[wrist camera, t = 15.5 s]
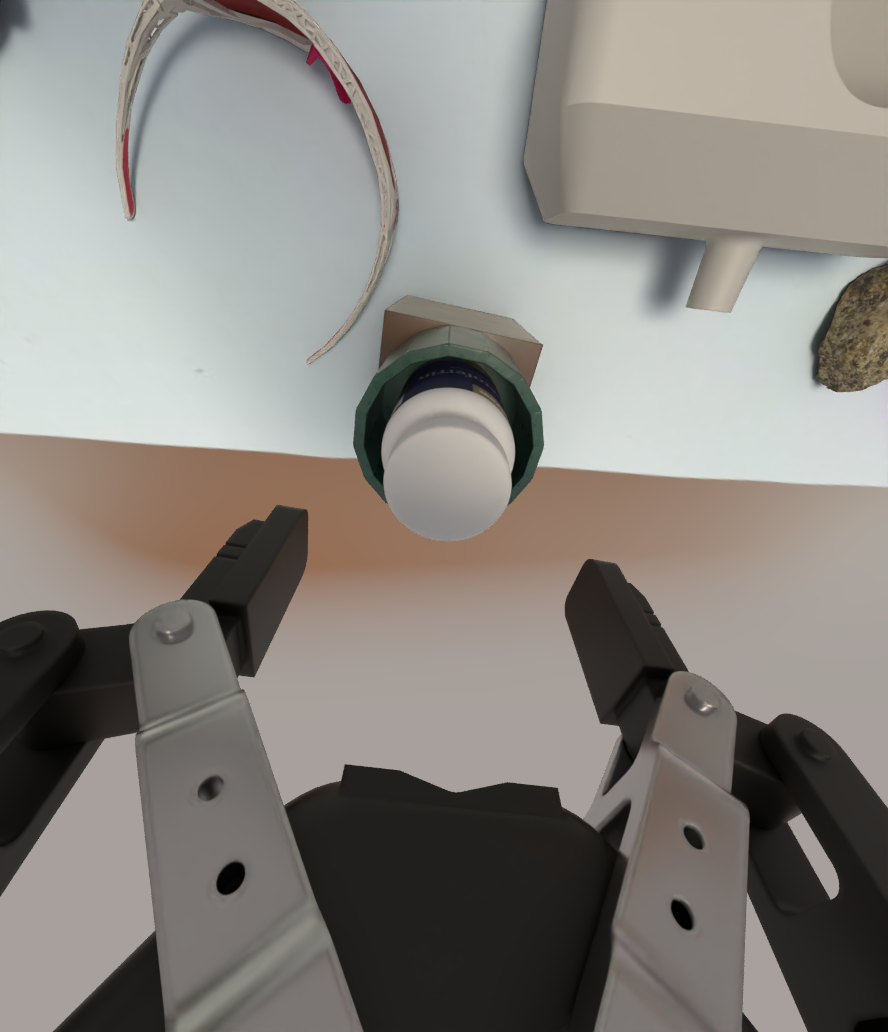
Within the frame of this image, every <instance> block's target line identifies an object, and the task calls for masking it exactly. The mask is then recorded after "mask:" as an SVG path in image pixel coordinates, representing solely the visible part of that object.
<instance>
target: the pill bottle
mask: <svg viewBox="0 0 888 1032" xmlns="http://www.w3.org/2000/svg"><path fill="white" fill-rule="evenodd" d="M381 455H382V463H383V467H384V471H385V472H384V479H383V484H384V492H385V496H386V500H387V502H388V505H389V507H390V509H391V511H392V512H393V514H394V515H395V517H396V518H397V519H398V520H399V521H400V522H401V523H402V524H403V525H404V526H406V527H407V528H409V529H410V530H411V531H413V532H415V533H416V534H418V535H421V536H423V537H426V538H429V539H434V540H440V541H456V540H462V539H467V538H471V537H473V536H475V535H478V534H480V533H482V532H483V531H485V530H487V529H488V528H489V527H491V526H492V525H493V524H494V523H495V522H496V521H497V520H498V519H499V518H500V516H501V515H502V514H503V512H504V510H505V508H506V507H507V505H508V502H509V499H510V495H511V488H512V480H511V472H512V469H513V465H514V460H515V443H514V437H513V433H512V430H511V427H510V424H509V421H508V418H507V415H506V412H505V409H504V407H503V404H502V401H501V398H500V395H499V392H498V390H497V388H496V385H495V383H494V382H493V380H492V379H491V377H490V376H489V375H488V374H487V373H486V372H485V370H483V369H482V368H481V367H480V366H478V365H477V364H475V363H473V362H471V361H468V360H463V359H459V358H454V357H443V358H438V359H434V360H431V361H429V362H427V363H425V364H423V365H422V366H421V367H419V368H418V369H417V370H416V371H415V372H414V373H413V374H412V375H411V376H410V378H409V379H408V380H407V382H406V384H405V385H404V387H403V390H402V392H401V394H400V397H399V399H398V401H397V404H396V406H395V408H394V410H393V413H392V415H391V417H390V419H389V421H388V423H387V426H386V429H385V432H384V435H383V440H382V448H381Z"/></svg>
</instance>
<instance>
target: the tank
mask: <svg viewBox="0 0 888 1032" xmlns="http://www.w3.org/2000/svg"><path fill="white" fill-rule="evenodd" d="M523 163H524V166H525V168H526V171H527V174H528V177H529V180H530V183H531V185H532V188H533V191H534V194H535V197H536V200H537V202H538V205H539V208H540V211H541V214H542V217H543V219H544V222H546V223H551V224H559V225H568V226H577V227H586V228H595V229H605V230H614V231H623V232H632V233H642V234H651V235H660V236H669V237H678V238H688V239H697V240H706V249H705V252H704V254H703V257H702V260H701V263H700V266H699V269H698V272H697V275H696V278H695V281H694V284H693V287H692V290H691V293H690V296H689V298H688V301H687V304H686V307H687V308H693V309H701V310H709V311H717V312H729V313H731V311H732V308H733V306H734V304H735V302H736V300H737V298H738V296H739V294H740V291H741V289H742V287H743V285H744V283H745V281H746V279H747V276H748V274H749V272H750V270H751V268H752V266H753V264H754V262H755V259H756V257H757V255H758V253H759V251H760V249H761V248H762V247H771V248H780V249H789V250H798V251H808V252H817V253H826V254H835V255H844V256H854V257H866V258H888V0H547V5H546V12H545V18H544V25H543V32H542V39H541V45H540V52H539V59H538V66H537V72H536V79H535V86H534V93H533V99H532V106H531V113H530V120H529V126H528V133H527V140H526V146H525V153H524V160H523Z"/></svg>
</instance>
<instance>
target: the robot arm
mask: <svg viewBox="0 0 888 1032" xmlns="http://www.w3.org/2000/svg"><path fill="white" fill-rule="evenodd" d="M307 555H308V512H307V510H306V509H300V508H294V507H288V506H282V505H277V506H276V507H275V508H274V510H273V511H272V513H271V514H270V515H269V516H268V518H267V519H266V521H259V520H252V521H250V522H249V523H247V524H245V525H243V526H242V527H240V528H238V529H236V531H235V532H234V533H233V534H232V536H231V537H230V538H229V540H228V541H227V542H226V545H224V546H223V547H222V548H221V549H220V550H219V552H218V553H217V556H216V557H214V558H213V559H212V560H211V562H210V563H209V564H208V565H207V567H206V568H205V569H204V570H203V572H202V573H201V574H200V575H199V576H198V578H197V579H196V580H195V582H194V583H193V584H192V585H191V586H190V588H189V589H188V590H187V591H186V593H185V594H184V595H183V596H182V598H181V599H180V600H176V601H172V602H168V603H165V604H162V605H159V606H157V607H155V608H153V609H151V610H149V611H148V612H146V613H145V614H144V615H142V616H141V617H140V618H139V619H138V620H137V621H136V622H135V623H133V624H127V625H118V626H109V627H99V628H89V629H80V630H79V628H78V625H77V623H76V621H75V619H74V618H73V617H72V616H70V615H68V614H66V613H63V612H59V611H36V612H30V613H26V614H21V615H18V616H15V617H12V618H9V619H7V620H4V621H2V622H0V896H1V894H2V893H3V892H4V890H5V889H6V887H7V886H8V884H9V883H10V881H11V880H12V878H13V876H14V875H15V873H16V872H17V870H18V869H19V867H20V866H21V864H22V863H23V861H24V860H25V858H26V857H27V855H28V854H29V852H30V851H31V849H32V848H33V846H34V844H35V843H36V842H37V840H38V839H39V837H40V836H41V834H42V832H43V831H44V830H45V828H46V826H47V825H48V824H49V822H50V821H51V819H52V817H53V816H54V814H55V813H56V811H57V810H58V808H59V807H60V805H61V804H62V802H63V801H64V799H65V798H66V796H67V795H68V793H69V792H70V790H71V789H72V787H73V786H74V784H75V783H76V781H77V780H78V778H79V777H80V775H81V774H82V772H83V770H84V769H85V768H86V766H87V765H88V763H89V762H90V760H91V758H92V757H93V755H94V754H95V752H96V751H97V749H98V748H99V746H100V745H101V743H102V742H103V740H104V739H105V738H110V737H115V736H121V735H126V734H131V733H136V732H138V733H137V734H136V737H135V747H136V758H137V767H138V776H139V785H140V794H141V802H142V803H141V804H142V812H143V822H144V831H145V840H146V849H147V858H148V867H149V876H150V885H151V895H152V904H153V913H154V922H155V931H154V932H153V933H152V934H151V935H150V936H149V937H148V938H147V939H146V940H145V941H144V942H143V943H142V944H141V945H140V946H139V947H138V948H137V949H136V950H135V951H134V952H133V953H132V954H131V955H130V956H129V957H128V958H127V959H126V960H125V961H124V962H123V963H122V964H121V965H120V966H119V967H118V968H117V969H116V970H115V971H114V972H113V973H112V974H111V975H110V976H109V977H108V978H107V979H106V980H105V981H104V982H103V983H102V984H101V985H100V986H99V987H98V988H97V989H96V990H95V991H94V992H93V993H92V994H91V995H90V996H89V997H88V998H86V999H85V1000H84V1001H83V1003H82V1004H81V1005H80V1006H78V1007H77V1008H76V1009H75V1010H74V1011H73V1012H72V1013H71V1014H70V1015H69V1016H68V1017H67V1018H66V1019H65V1020H64V1021H63V1022H62V1023H61V1024H60V1026H58V1027H57V1028H56V1029H55V1030H54V1031H53V1032H758V1031H757V1030H756V1029H755V1027H754V1026H753V1025H752V1024H751V1022H750V1021H749V1020H748V1018H747V1017H746V1016H745V1015H744V1013H743V1012H742V1005H743V980H744V953H745V928H746V901H747V893H748V895H749V897H750V900H751V902H752V904H753V906H754V909H755V911H756V913H757V916H758V918H759V920H760V923H761V925H762V927H763V930H764V932H765V934H766V936H767V939H768V941H769V943H770V945H771V948H772V950H773V953H774V955H775V957H776V959H777V962H778V964H779V966H780V969H781V971H782V973H783V975H784V978H785V980H786V982H787V985H788V987H789V989H790V991H791V994H792V996H793V998H794V1001H795V1003H796V1005H797V1008H798V1010H799V1012H800V1015H801V1017H802V1019H803V1022H804V1024H805V1026H806V1028H807V1031H808V1032H888V808H887V807H886V805H885V804H884V803H883V802H882V800H881V799H880V797H879V796H878V795H877V793H876V792H875V791H874V790H873V788H872V787H871V786H870V784H869V783H868V782H867V780H866V779H865V778H864V776H863V775H862V774H861V773H860V771H859V770H858V769H857V767H856V766H855V765H854V763H853V762H852V761H851V759H850V758H849V757H848V756H847V754H846V753H845V752H844V750H842V748H841V747H840V746H839V745H838V744H837V743H836V742H835V741H834V740H833V739H832V738H831V737H830V736H829V735H828V734H827V733H825V732H824V731H823V730H822V729H820V728H818V727H817V726H816V725H814V724H813V723H811V722H809V721H807V720H805V719H803V718H801V717H798V716H796V715H792V714H781V715H779V716H778V717H776V718H775V719H774V720H773V721H772V722H771V723H769V724H765V723H763V722H760V721H758V720H755V719H753V718H751V717H748V716H746V715H744V714H741V713H739V712H736V711H735V710H734V708H733V706H732V705H731V703H730V701H729V700H728V699H727V698H726V696H725V695H724V694H723V693H722V692H721V691H720V690H719V689H718V688H717V687H716V686H714V685H713V684H712V683H710V682H709V681H707V680H706V679H704V678H702V677H701V676H698V675H696V674H693V673H690V672H689V671H688V670H687V668H686V666H685V664H684V663H683V661H682V659H681V658H680V656H679V654H678V652H677V651H676V649H675V647H674V646H673V644H672V642H671V641H670V639H669V637H668V635H667V634H666V632H665V630H664V629H663V628H662V627H661V624H660V622H659V620H658V618H657V617H656V615H654V614H653V613H654V612H653V610H652V608H651V607H650V605H649V603H648V601H647V600H646V598H645V597H644V596H643V595H642V594H641V593H640V592H639V591H638V590H637V589H636V588H635V587H634V586H633V585H632V584H631V583H627V581H626V579H625V577H624V575H623V574H622V572H621V570H620V568H619V567H618V565H617V564H615V563H611V562H605V561H599V560H593V559H588V560H587V561H586V562H585V563H584V564H583V566H582V568H581V570H580V572H579V574H578V576H577V578H576V580H575V582H574V584H573V586H572V588H571V590H570V592H569V594H568V596H567V598H566V602H565V617H566V620H567V623H568V626H569V629H570V632H571V635H572V638H573V641H574V644H575V647H576V651H577V654H578V657H579V660H580V663H581V665H582V669H583V672H584V675H585V678H586V681H587V684H588V687H589V690H590V693H591V696H592V700H593V703H594V705H595V709H596V712H597V715H598V718H599V721H600V723H601V724H608V725H616V726H619V727H620V730H621V733H622V734H621V736H620V737H619V738H618V739H617V741H616V743H615V746H614V748H613V751H612V754H611V756H610V759H609V762H608V765H607V767H606V770H605V772H604V775H603V777H602V780H601V783H600V785H599V788H598V791H597V793H596V796H595V799H594V801H593V803H592V805H591V807H590V809H589V811H588V812H587V814H586V816H585V817H584V819H581V818H580V817H579V816H577V815H575V814H574V813H572V812H570V811H568V810H567V809H565V808H563V807H562V806H561V802H560V797H559V792H558V788H553V787H544V786H535V785H526V784H517V783H508V782H507V783H502V784H497V785H493V786H488V787H483V788H479V789H473V790H468V791H464V792H457V793H455V792H450V791H447V790H445V789H442V788H440V787H438V786H435V785H433V784H431V783H428V782H426V781H423V780H421V779H419V778H416V777H414V776H411V775H409V774H407V773H404V772H402V771H399V770H391V769H382V768H373V767H364V766H355V765H345V766H344V771H343V775H342V780H341V781H339V782H334V783H329V784H326V785H323V786H320V787H317V788H314V789H312V790H310V791H308V792H306V793H304V794H302V795H300V796H299V797H297V798H295V799H294V800H292V801H290V802H289V803H287V804H286V805H283V802H282V799H281V796H280V793H279V790H278V787H277V784H276V781H275V778H274V775H273V772H272V769H271V766H270V763H269V760H268V757H267V754H266V751H265V748H264V745H263V742H262V739H261V736H260V733H259V730H258V728H257V725H256V721H255V718H254V715H253V713H252V709H251V706H250V703H249V701H248V698H247V695H246V693H245V691H244V690H243V689H242V690H241V688H240V686H239V682H238V679H237V678H238V676H239V675H241V676H248V677H255V675H256V673H257V671H258V668H259V666H260V664H261V662H262V660H263V658H264V656H265V653H266V652H267V650H268V647H269V645H270V643H271V641H272V639H273V637H274V635H275V633H276V631H277V629H278V626H279V624H280V622H281V620H282V618H283V616H284V614H285V612H286V609H287V607H288V605H289V603H290V601H291V599H292V597H293V595H294V593H295V591H296V588H297V586H298V584H299V582H300V580H301V578H302V576H303V573H304V570H305V567H306V562H307ZM801 813H802V814H803V815H804V817H805V819H806V821H807V822H808V824H809V826H810V827H811V829H812V831H813V832H814V834H815V836H816V837H817V839H818V841H819V842H820V844H821V846H822V847H823V849H824V851H825V853H826V854H827V856H828V858H829V859H830V861H831V862H832V864H833V866H834V868H835V870H836V873H837V876H838V879H839V893H838V895H837V896H836V897H835V898H834V899H832V900H830V898H829V896H828V894H827V892H826V891H825V889H824V887H823V885H822V884H821V882H820V880H819V878H818V877H817V875H816V873H815V871H814V869H813V868H812V866H811V864H810V862H809V860H808V859H807V857H806V855H805V853H804V852H803V850H802V848H801V846H800V845H799V843H798V841H797V839H796V837H795V835H794V834H793V832H792V830H791V829H790V827H789V825H788V823H787V822H788V821H789V820H791V819H793V818H795V817H796V816H798V815H799V814H801Z"/></svg>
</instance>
